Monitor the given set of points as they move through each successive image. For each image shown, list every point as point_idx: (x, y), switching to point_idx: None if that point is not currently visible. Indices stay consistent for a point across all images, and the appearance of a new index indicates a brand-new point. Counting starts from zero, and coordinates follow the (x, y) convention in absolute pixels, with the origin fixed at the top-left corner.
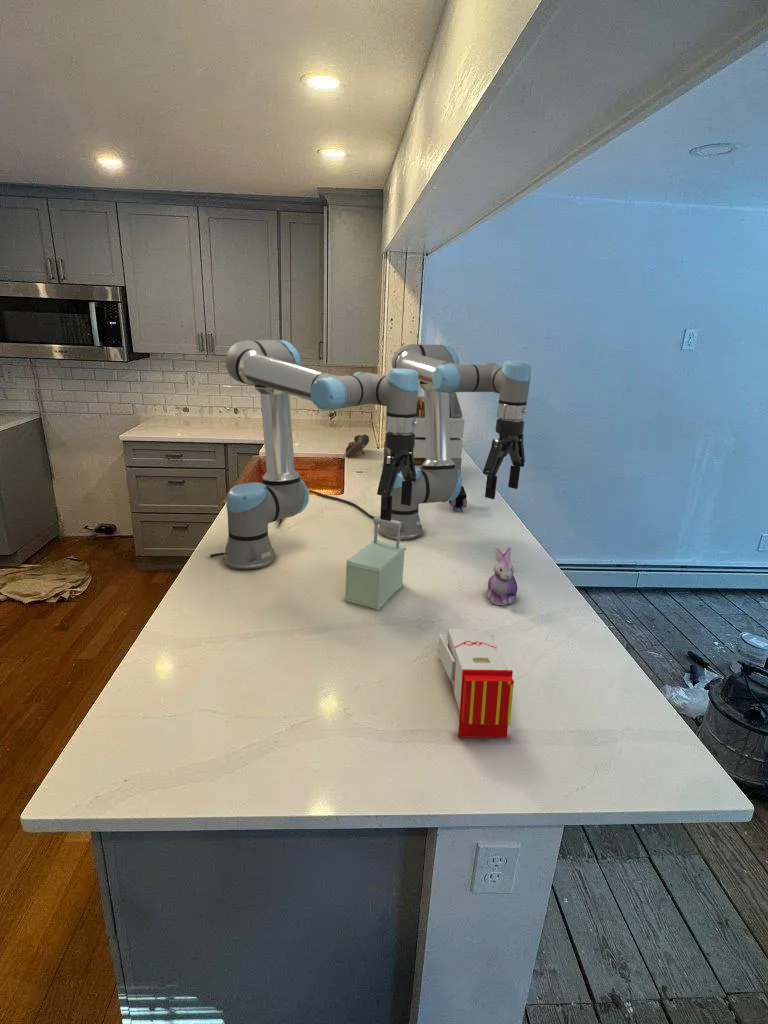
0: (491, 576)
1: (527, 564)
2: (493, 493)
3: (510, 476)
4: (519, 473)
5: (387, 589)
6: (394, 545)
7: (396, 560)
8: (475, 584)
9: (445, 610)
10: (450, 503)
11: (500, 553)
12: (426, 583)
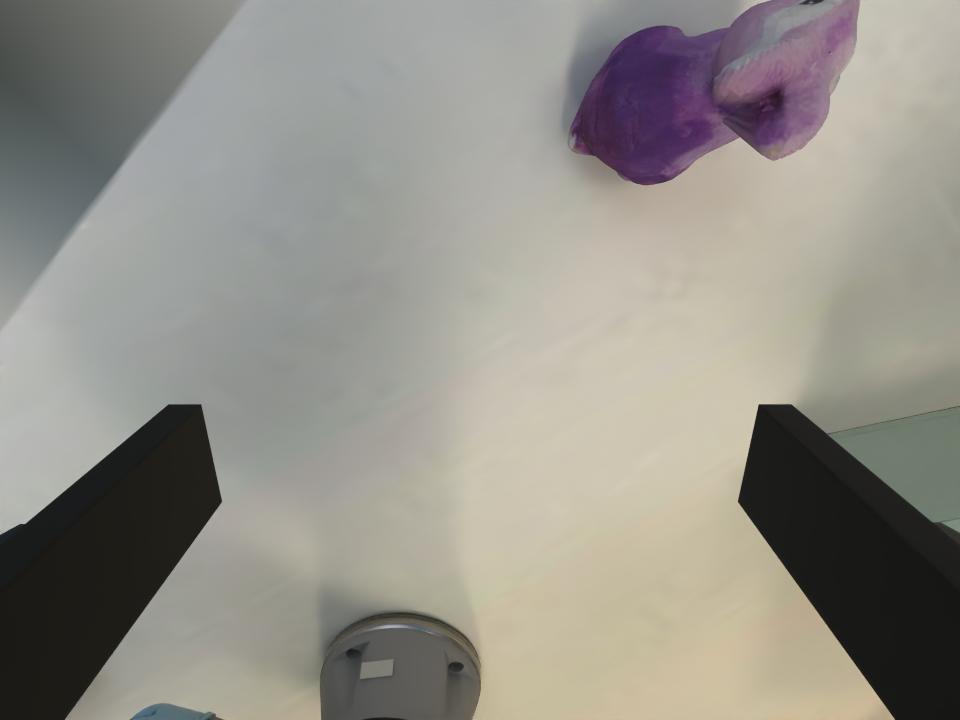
0: (670, 172)
1: (249, 186)
2: (833, 448)
3: (139, 596)
4: (6, 542)
5: (956, 437)
6: None
7: (954, 508)
8: (603, 256)
9: (883, 225)
10: None
11: (810, 104)
12: (716, 395)
